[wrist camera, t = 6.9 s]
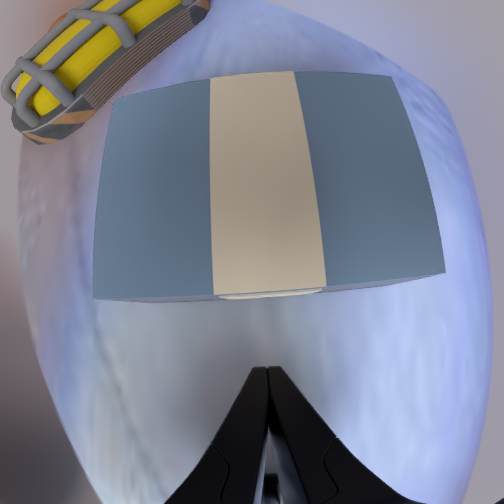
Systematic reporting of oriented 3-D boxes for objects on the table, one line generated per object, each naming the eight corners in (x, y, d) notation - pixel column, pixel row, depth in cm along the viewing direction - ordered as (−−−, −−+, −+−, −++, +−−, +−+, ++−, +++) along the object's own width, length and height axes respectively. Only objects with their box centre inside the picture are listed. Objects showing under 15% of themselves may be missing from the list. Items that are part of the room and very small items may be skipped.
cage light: (-18, 94, 19) (151, -46, 22) (16, 122, 27) (163, -11, 30) (6, 132, 17) (226, -43, 20) (53, 166, 25) (233, 3, 28)
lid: (436, 274, 14) (446, 272, 12) (102, 299, 14) (91, 298, 13) (386, 85, 16) (391, 75, 15) (120, 107, 17) (114, 98, 16)
